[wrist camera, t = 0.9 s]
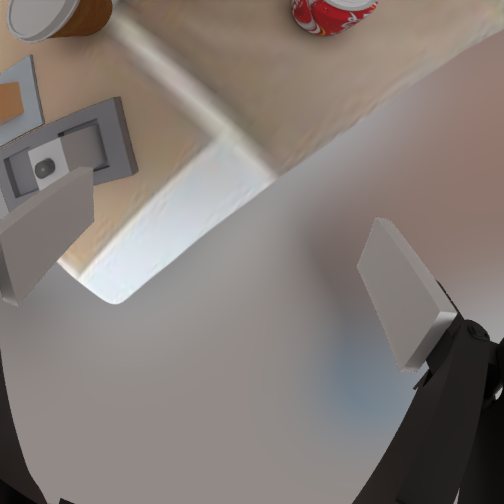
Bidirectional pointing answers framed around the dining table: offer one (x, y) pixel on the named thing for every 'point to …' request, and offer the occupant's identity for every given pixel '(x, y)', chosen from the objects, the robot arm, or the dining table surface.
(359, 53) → the dining table surface
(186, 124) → the dining table surface
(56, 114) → the dining table surface
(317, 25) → the soda can
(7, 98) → the plug
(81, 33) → the disposable coffee cup
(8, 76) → the mat
